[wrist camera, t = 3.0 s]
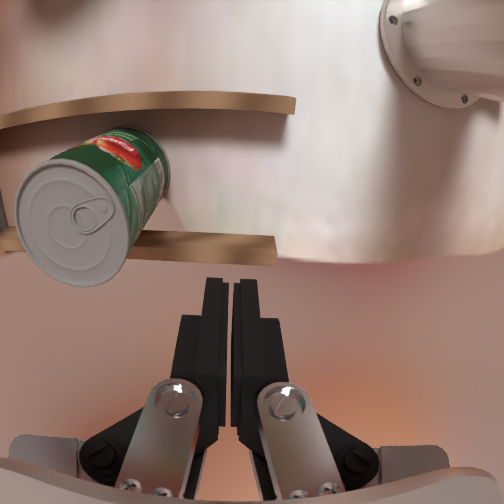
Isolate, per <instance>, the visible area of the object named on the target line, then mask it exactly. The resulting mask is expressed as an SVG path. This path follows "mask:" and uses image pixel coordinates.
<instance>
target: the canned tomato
mask: <svg viewBox="0 0 504 504" xmlns="http://www.w3.org/2000/svg"><path fill="white" fill-rule="evenodd" d="M169 179H170V166H169V161H168V158H167V155H166V153H165V151H164V149H163V147H162V146H161V144H160V143H159V142H158V141H157V140H156V139H155V138H154V137H153V136H152V135H150V134H149V133H147V132H146V131H143V130H141V129H138V128H133V127H119V128H115V129H111V130H109V131H107V132H105V133H103V134H101V135H98V136H96V137H94V138H92V139H89V140H87V141H85V142H83V143H81V144H79V145H77V146H74V147H72V148H71V149H68V150H66V151H65V152H62V153H60V154H59V155H56V156H54V157H53V158H51V159H49V160H48V161H45V162H42V163H40V164H38V165H37V166H35V167H34V168H32V169H31V170H30V171H29V172H28V173H27V174H26V175H25V177H24V178H23V179H22V181H21V183H20V185H19V187H18V189H17V192H16V196H15V201H14V220H15V226H16V230H17V234H18V236H19V239H20V241H21V243H22V245H23V247H24V249H25V251H26V252H27V254H28V255H29V257H30V258H31V259H32V260H33V262H34V263H35V264H36V265H37V266H38V267H39V268H41V270H42V271H43V272H45V273H46V274H47V275H49V276H50V277H52V278H53V279H55V280H57V281H59V282H61V283H64V284H67V285H70V286H75V287H83V288H84V287H94V286H98V285H101V284H104V283H105V282H107V281H109V280H110V279H112V278H113V277H114V276H115V275H116V274H117V273H118V272H119V271H120V269H121V267H122V266H123V264H124V262H125V260H126V257H127V255H128V253H129V252H130V250H131V248H132V247H133V245H134V243H135V241H136V240H137V238H138V236H139V235H140V233H141V231H142V229H143V228H144V226H145V224H146V223H147V221H148V219H149V217H150V216H151V215H152V213H153V211H154V210H155V208H156V206H157V205H158V203H159V202H160V200H161V199H162V197H163V196H164V194H165V192H166V190H167V187H168V184H169Z"/></svg>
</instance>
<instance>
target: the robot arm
mask: <svg viewBox="0 0 504 504" xmlns="http://www.w3.org/2000/svg"><path fill="white" fill-rule="evenodd" d="M389 20H390V21H391V23H390V22H389ZM380 29H381V37H382V41H383V45H384V49H385V51H386V54H387V56H388V58H389V61H390V63H391V64H392V66H393V68H394V70H395V71H396V73H397V74H398V76H399V77H400V78H401V79H402V81H403V82H404V83H405V85H406V86H408V87H409V88H410V89H411V90H412V91H413V92H414V93H415V94H416V95H418V96H419V97H421V98H422V99H423V100H425V101H427V102H429V103H432V104H434V105H437V106H441V107H444V108H452V109H458V108H465V107H467V106H470V105H472V104H473V103H475V102H476V101H478V100H479V99H480V98H485V99H489V100H493V101H498V102H502V103H504V0H384V3H383V6H382V9H381V16H380ZM413 79H414V82H413ZM228 295H229V283H223V278H208V277H207V279H206V286H205V293H204V302H203V308H202V316H199V315H182V317H181V322H180V327H179V332H178V337H177V343H176V349H175V354H174V359H173V365H172V371H171V376H170V379H167V380H164V381H162V382H159V383H158V384H157V385H156V386H154V387H153V388H152V390H151V392H150V393H149V396H148V398H147V401H146V403H145V406H144V407H143V408H141V409H139V410H138V411H136V412H135V413H133V414H131V415H129V416H128V417H126V418H124V419H123V420H121V421H119V422H117V423H116V424H114V425H112V426H110V427H109V428H107V429H105V430H104V431H102V432H100V433H98V434H96V435H95V436H93V437H91V438H89V439H88V440H87V441H78V439H77V438H63V437H48V436H36V435H19V436H18V437H16V438H15V439H14V440H13V441H12V442H11V445H10V448H9V456H8V458H3V457H0V504H504V493H503V491H502V489H501V487H500V485H499V483H498V482H497V480H496V479H495V478H494V476H492V474H490V473H489V472H487V471H485V470H482V469H478V468H474V467H452V468H450V466H449V459H448V456H447V454H446V452H445V451H444V450H443V449H442V448H440V447H439V446H434V445H422V446H381V447H380V448H371V447H370V446H369V445H367V444H366V443H364V442H362V441H361V440H359V439H357V438H356V437H354V436H352V435H350V434H349V433H347V432H346V431H344V430H343V429H341V428H339V427H338V426H336V425H335V424H333V423H331V422H329V421H328V420H327V419H325V418H324V417H322V416H320V415H319V414H317V413H316V412H315V409H314V406H313V404H312V401H311V399H310V397H309V395H308V394H307V392H306V391H305V390H304V389H302V388H301V387H300V386H298V385H295V384H293V383H289V380H288V373H287V367H286V360H285V354H284V348H283V341H282V335H281V329H280V323H279V319H278V318H260V308H259V299H258V287H257V280H256V279H241V280H240V283H234V292H233V313H232V334H231V427H237V435H239V441H240V442H241V443H243V444H244V445H245V446H246V447H248V448H249V454H250V458H251V463H252V467H253V471H254V476H255V479H256V484H257V488H258V492H259V496H260V500H261V501H254V502H253V501H251V502H231V501H228V502H227V501H205V500H196V499H197V494H198V490H199V485H200V481H201V476H202V471H203V467H204V462H205V458H206V453H207V448H208V447H209V446H210V445H212V444H213V443H214V442H216V441H217V440H218V433H219V431H218V430H219V426H222V427H223V426H224V427H225V415H226V413H225V412H226V375H227V372H226V371H227V329H228Z"/></svg>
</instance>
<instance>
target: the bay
mask: <svg viewBox="0 0 504 504" xmlns="http://www.w3.org/2000/svg"><path fill="white" fill-rule="evenodd" d="M295 105H296V98H294V97H289V96H279V95H269V94H257V93H243V92H221V91H164V92H143V93H129V94H117V95H107V96H99V97H91V98H83V99H76V100H70V101H64V102H58V103H53V104H47V105H42V106H37V107H33V108H28V109H24V110H20V111H15V112H11V113H8V114H4V115H0V129H3V128H7V127H12V126H17V125H21V124H26V123H31V122H37V121H42V120H48V119H54V118H61V117H68V116H75V115H83V114H92V113H101V112H112V111H125V110H142V109H174V108H200V109H232V110H249V111H263V112H274V113H284V114H295ZM0 250H6V251H20V252H26V251H25V249H24V247H23V245H22V243H21V241H20V239H19V236H18V234H17V230H16V227H8V224H7V220H6V216H5V212H4V207H3V202H2V198H1V192H0ZM126 258H128V259H129V258H130V259H146V260H163V261H183V262H202V263H203V262H204V263H222V264H243V265H267V266H276V260H277V249H276V244H275V239H274V236H261V235H242V234H221V233H200V232H176V231H152V230H142V231H141V233H140V235H139V236H138V238H137V240H136V241H135V243H134V245H133V247H132V248H131V250H130V252H129V253H128V255H127V257H126Z"/></svg>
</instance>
